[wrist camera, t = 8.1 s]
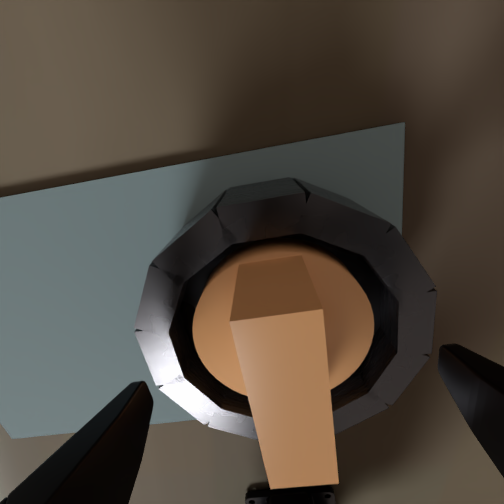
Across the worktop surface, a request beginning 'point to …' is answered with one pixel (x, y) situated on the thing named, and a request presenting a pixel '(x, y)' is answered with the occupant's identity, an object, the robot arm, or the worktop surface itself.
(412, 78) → the worktop surface
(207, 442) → the worktop surface
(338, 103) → the worktop surface
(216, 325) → the rotary knob
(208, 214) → the black ring
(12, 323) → the mat
